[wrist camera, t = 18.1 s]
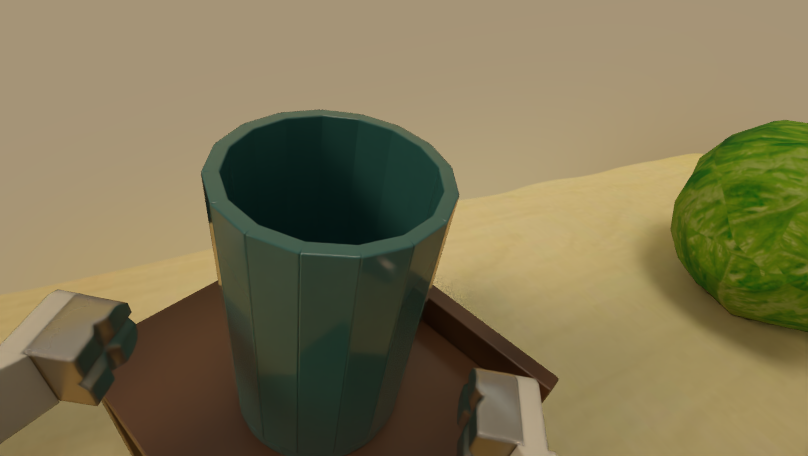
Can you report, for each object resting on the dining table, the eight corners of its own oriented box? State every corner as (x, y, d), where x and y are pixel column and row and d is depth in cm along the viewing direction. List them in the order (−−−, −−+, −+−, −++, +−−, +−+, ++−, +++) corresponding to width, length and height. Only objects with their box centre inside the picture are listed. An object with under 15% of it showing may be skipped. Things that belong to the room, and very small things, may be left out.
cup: (429, 381, 18) (502, 184, 12) (311, 502, 15) (327, 306, 8) (327, 293, 21) (342, 92, 15) (203, 376, 17) (150, 151, 11)
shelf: (485, 481, 25) (560, 378, 18) (315, 728, 17) (331, 715, 10) (315, 324, 30) (322, 201, 24) (131, 455, 23) (62, 330, 16)
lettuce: (845, 328, 42) (1045, 214, 32) (755, 403, 32) (1012, 268, 22) (701, 206, 51) (823, 87, 41) (593, 233, 40) (722, 81, 30)
